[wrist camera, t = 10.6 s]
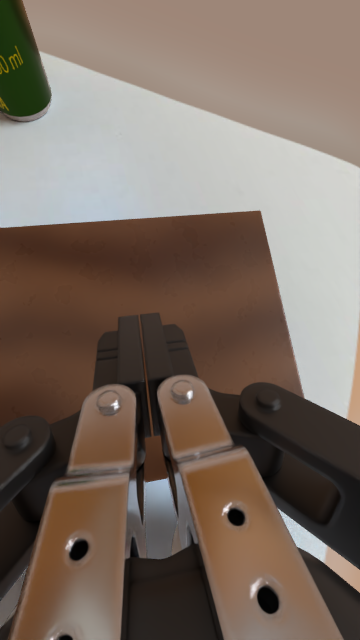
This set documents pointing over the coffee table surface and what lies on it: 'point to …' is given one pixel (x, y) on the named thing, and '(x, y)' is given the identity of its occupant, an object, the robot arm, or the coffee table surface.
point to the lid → (137, 307)
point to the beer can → (20, 66)
